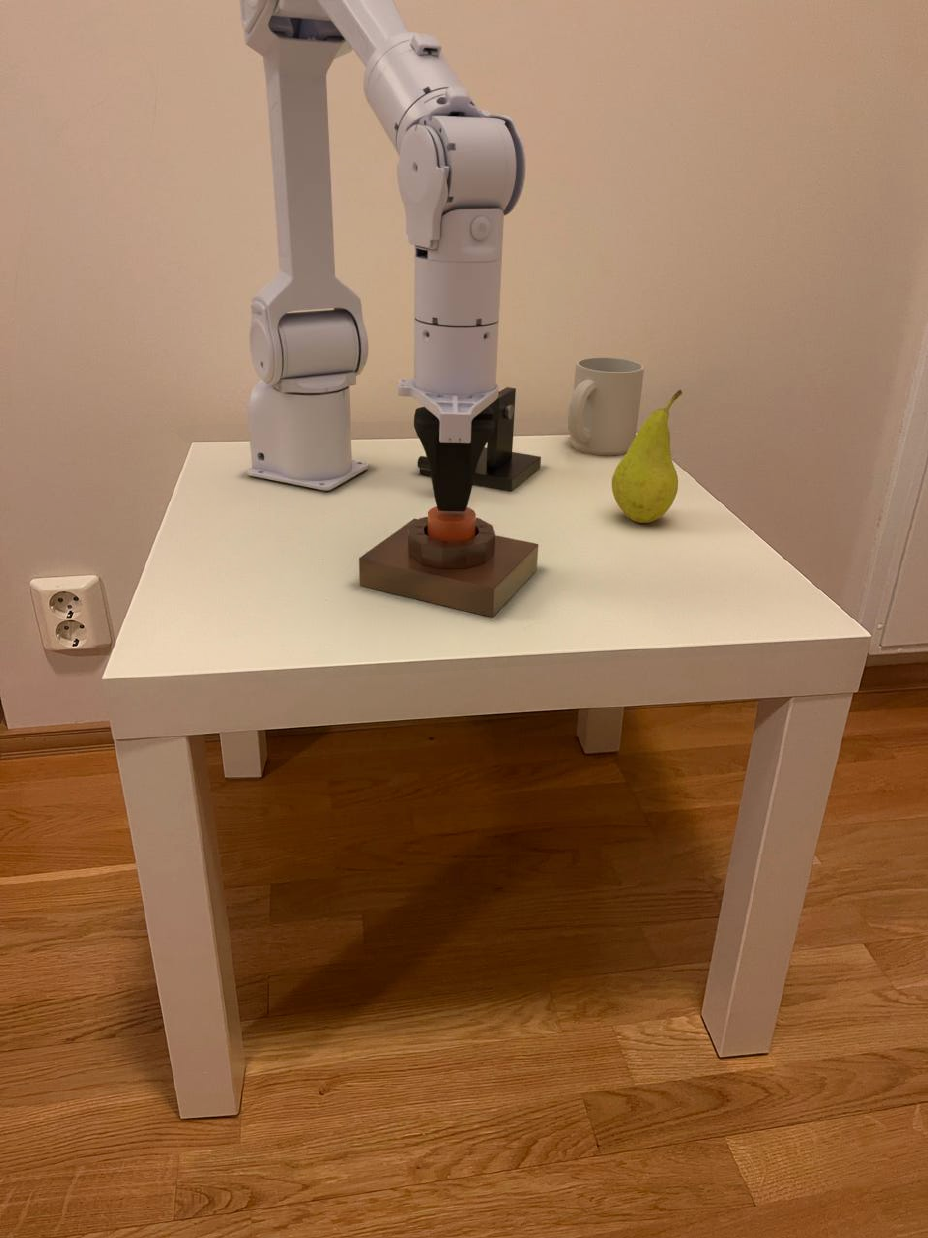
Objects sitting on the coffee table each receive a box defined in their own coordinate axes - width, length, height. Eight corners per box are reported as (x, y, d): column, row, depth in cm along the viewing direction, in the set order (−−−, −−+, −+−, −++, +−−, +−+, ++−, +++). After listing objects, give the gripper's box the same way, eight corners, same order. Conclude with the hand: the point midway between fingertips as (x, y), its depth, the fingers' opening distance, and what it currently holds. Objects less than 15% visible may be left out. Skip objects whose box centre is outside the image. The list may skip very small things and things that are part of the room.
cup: (646, 446, 101) (657, 365, 97) (596, 466, 95) (604, 380, 90) (593, 432, 106) (600, 354, 101) (541, 450, 99) (546, 368, 95)
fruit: (598, 509, 84) (612, 379, 78) (657, 506, 85) (675, 377, 79) (621, 534, 79) (638, 396, 73) (683, 529, 80) (704, 394, 75)
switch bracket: (511, 491, 88) (516, 406, 84) (419, 474, 91) (419, 391, 87) (540, 467, 94) (546, 387, 90) (453, 452, 98) (455, 374, 94)
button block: (359, 585, 69) (357, 536, 67) (414, 543, 76) (414, 498, 74) (492, 618, 65) (495, 567, 63) (537, 570, 72) (540, 523, 70)
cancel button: (419, 538, 68) (419, 516, 67) (440, 522, 71) (440, 501, 70) (462, 547, 67) (463, 525, 66) (482, 530, 69) (483, 509, 69)
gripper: (401, 298, 67) (402, 473, 74) (391, 339, 55) (392, 546, 61) (496, 301, 68) (488, 475, 74) (508, 343, 55) (497, 548, 61)
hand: (451, 507), depth 68 cm, fingers closed
